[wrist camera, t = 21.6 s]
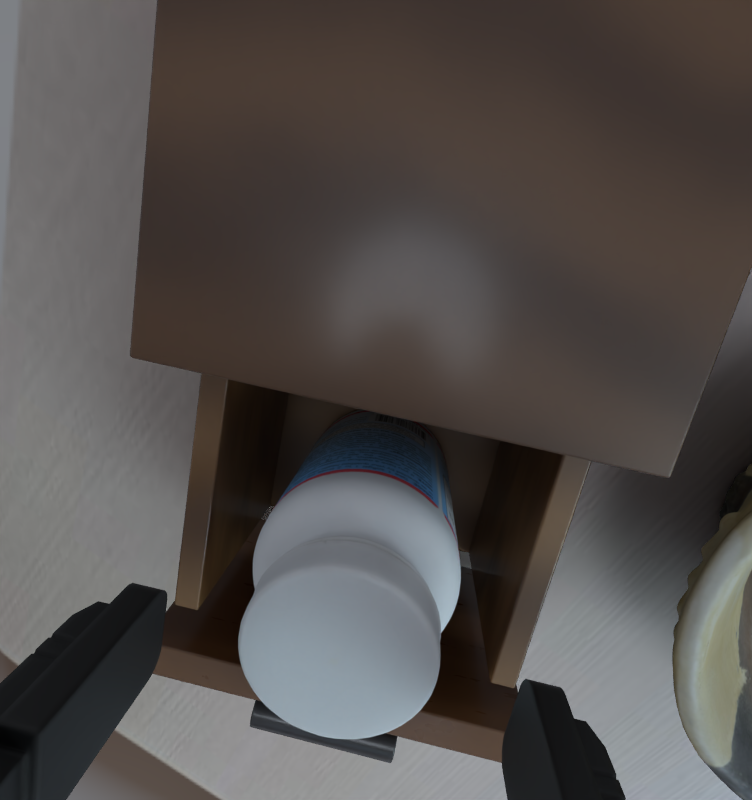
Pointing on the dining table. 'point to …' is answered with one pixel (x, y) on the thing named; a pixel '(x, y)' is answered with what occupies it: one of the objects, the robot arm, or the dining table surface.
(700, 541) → the dining table surface
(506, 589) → the drawer
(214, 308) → the cabinet
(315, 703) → the pill bottle
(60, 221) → the dining table surface
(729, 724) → the bowl
